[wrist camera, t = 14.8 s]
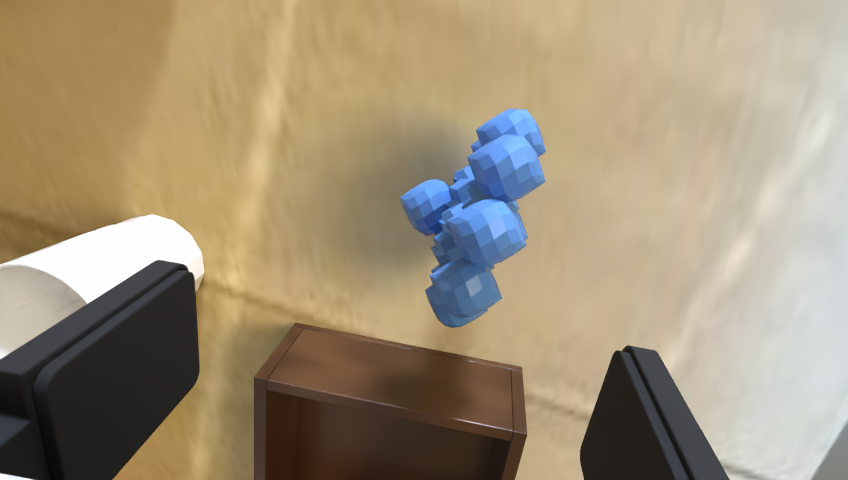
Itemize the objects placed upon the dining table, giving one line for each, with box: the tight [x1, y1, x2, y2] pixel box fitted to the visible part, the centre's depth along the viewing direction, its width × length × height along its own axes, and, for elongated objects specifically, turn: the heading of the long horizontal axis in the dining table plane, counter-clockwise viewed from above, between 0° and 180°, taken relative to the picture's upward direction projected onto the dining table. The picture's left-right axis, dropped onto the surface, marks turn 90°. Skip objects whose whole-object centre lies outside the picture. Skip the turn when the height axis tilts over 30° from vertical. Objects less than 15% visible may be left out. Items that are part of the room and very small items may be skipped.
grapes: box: [400, 109, 546, 328], centre depth 24 cm, size 12×7×12 cm, turn 164°
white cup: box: [0, 215, 205, 359], centre depth 30 cm, size 8×8×10 cm
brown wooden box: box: [254, 323, 527, 480], centre depth 35 cm, size 17×18×6 cm
